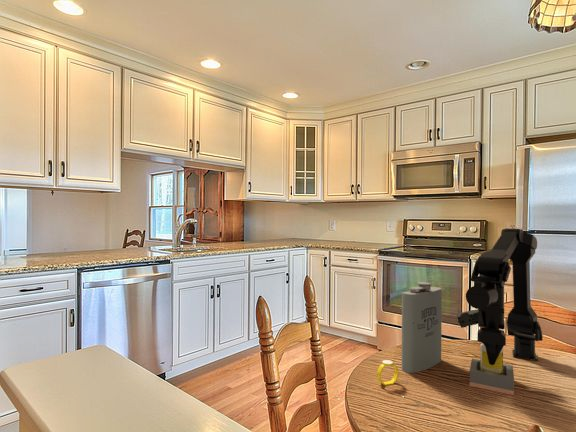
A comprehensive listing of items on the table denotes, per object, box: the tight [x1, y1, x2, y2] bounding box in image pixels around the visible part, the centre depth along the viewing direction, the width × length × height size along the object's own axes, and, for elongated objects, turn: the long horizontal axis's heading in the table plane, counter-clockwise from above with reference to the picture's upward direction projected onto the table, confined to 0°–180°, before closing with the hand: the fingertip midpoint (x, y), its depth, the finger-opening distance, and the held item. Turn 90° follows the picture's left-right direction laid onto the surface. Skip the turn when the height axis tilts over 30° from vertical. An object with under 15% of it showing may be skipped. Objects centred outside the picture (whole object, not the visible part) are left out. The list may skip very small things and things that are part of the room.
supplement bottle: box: [479, 343, 504, 375], centre depth 98 cm, size 5×5×10 cm
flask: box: [400, 281, 443, 374], centre depth 110 cm, size 17×5×25 cm, turn 128°
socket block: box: [469, 357, 515, 396], centre depth 98 cm, size 10×10×4 cm
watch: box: [376, 359, 399, 386], centre depth 97 cm, size 6×3×6 cm, turn 111°
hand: (491, 360), depth 98 cm, fingers closed on supplement bottle, 5 cm apart
